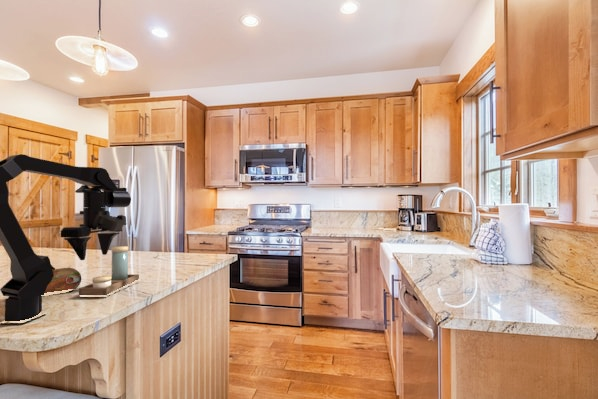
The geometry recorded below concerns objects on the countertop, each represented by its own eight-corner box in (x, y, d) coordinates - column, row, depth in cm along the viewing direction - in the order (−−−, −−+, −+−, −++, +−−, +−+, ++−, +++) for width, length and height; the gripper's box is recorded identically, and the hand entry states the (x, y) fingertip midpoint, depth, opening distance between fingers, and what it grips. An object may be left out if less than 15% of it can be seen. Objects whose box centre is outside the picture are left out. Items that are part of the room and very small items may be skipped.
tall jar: (124, 287, 99) (125, 248, 100) (108, 288, 98) (108, 248, 99) (130, 283, 104) (130, 246, 105) (114, 284, 103) (115, 246, 104)
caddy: (105, 298, 88) (105, 288, 88) (78, 297, 88) (79, 288, 88) (138, 282, 106) (138, 274, 106) (116, 282, 106) (116, 274, 106)
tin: (19, 301, 86) (19, 273, 86) (20, 298, 88) (21, 271, 88) (81, 291, 95) (81, 266, 96) (80, 289, 98) (81, 265, 98)
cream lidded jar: (104, 296, 90) (104, 279, 90) (88, 296, 90) (88, 279, 90) (115, 291, 95) (115, 275, 95) (100, 291, 95) (100, 275, 95)
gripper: (97, 207, 78) (97, 263, 78) (137, 207, 97) (137, 252, 97) (59, 208, 79) (58, 263, 78) (106, 207, 97) (105, 252, 97)
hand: (94, 257), depth 88 cm, fingers open, 9 cm apart
